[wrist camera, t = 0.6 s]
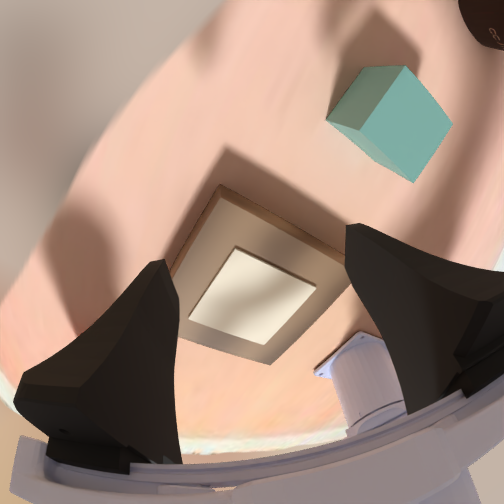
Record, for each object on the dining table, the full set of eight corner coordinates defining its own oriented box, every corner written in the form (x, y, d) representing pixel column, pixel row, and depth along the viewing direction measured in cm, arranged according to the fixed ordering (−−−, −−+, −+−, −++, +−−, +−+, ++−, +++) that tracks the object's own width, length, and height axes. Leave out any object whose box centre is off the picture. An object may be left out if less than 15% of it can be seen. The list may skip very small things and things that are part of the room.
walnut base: (344, 253, 23) (359, 276, 21) (265, 341, 28) (270, 367, 25) (219, 181, 19) (220, 198, 16) (152, 300, 24) (147, 327, 21)
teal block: (408, 112, 17) (452, 123, 13) (374, 161, 19) (413, 183, 15) (363, 67, 15) (405, 65, 11) (325, 120, 17) (359, 130, 13)
